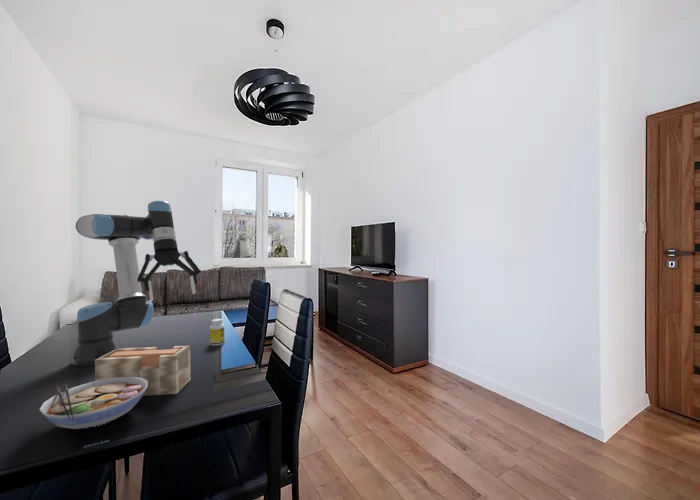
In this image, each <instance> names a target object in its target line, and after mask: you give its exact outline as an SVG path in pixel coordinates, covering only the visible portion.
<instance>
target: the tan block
mask: <svg viewBox="0 0 700 500" xmlns="http://www.w3.org/2000/svg"><path fill="white" fill-rule="evenodd" d="M179 350H180V349H173V348H169V349H167V348H166V349H157V350H143V351H121V352H115V353H113V354H112V355H110V356H109V358H113V357H135V356H142V367H143V366H159V357H160V356H161V355H173V354H175V353H176V352H177V351H179Z"/></svg>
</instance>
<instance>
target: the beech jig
mask: <svg viewBox="0 0 700 500" xmlns="http://www.w3.org/2000/svg"><path fill="white" fill-rule="evenodd" d="M172 349H180V350H179V351H177V352H176V353H175V354H173V355H161V356H160V357H159V366H143V367H142V356H135V357H113V358H109V356H110V355H112V354H113V353H115V352H121V351H143V350H158V346H151V347H150V346H149V347H145V346H144V347H124V348H123V347H122V348H117V349H116V350H114V351H112V352H110V353H108V354H106V355H104V356H102V357H100V358H98V359H96V360H95V365H94V375H95V376H94V379H95V380H94V381H99V380H104V379H109V378H118V377H139V378H142V379H145V380H147V381H148V387H147V389H146V391H145V393H144V394H143V396H142V397H145V396H160V395H162V396H163V395H165V396H166V395H177V394H178V393H179V392H180V391H181V390H182V389H183V388H184V387H185V386H186V385H187V384H188V383H189V382H190V381H191V376H192V374H191V346H190V345H174V346H173V347H172Z"/></svg>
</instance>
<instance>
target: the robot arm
mask: <svg viewBox="0 0 700 500" xmlns="http://www.w3.org/2000/svg"><path fill="white" fill-rule="evenodd" d="M147 212H148V214H147V215H146V216H145V217H144V216H133V215H127V214H124V215H123V214H122V215H120V214H118V215H117V214H105V213H103V214H102V213H99V214H98V213H94V214H93V213H92V214H86V215H83V216H81V217H79V218H78V219H77V221H76V222H75V229H76V231H77V233H79V235H81V236H83V237H84V238H87V239H93V240H100V241H102V240H104V241H105V240H107V241H108V245H109V246H110V247H112V249H113V255H114V264H115V270H116V271H115V273H116V280H117V287H118V288H117V289H118V296H119V297H118V298H117V299H116V300H115V304H113V302H112V301H105V302H98V303H93V304H89V305H85V306H83V307H81V308H80V309H78V310H77V312H76V313H77V314H76V323H77V326H76V327H77V345H76V349H75V351H74V354H73V357H72V366H74V365H75V366H74V367H91V366H95V360H96V359H98V358H100V357H102V356H104V355H106V354H108V353H110V352H112V351H114V350H116V349H118V346H117V345H116V342H115V340H114V333H116V332H121V331H125V330H132V329H139V328H142V327H147V326H148V325H149V324H151V322H152V320H153V316H154V303H153V301H154V293H153V285H152V281H151V280H150V279H151V278H152V277H153V275H154V274H155V273H156V272H157V270H158V269H159V268H160V267H161V266H162V267H167V266H173V265H175V266H176V267H179V268H180V269H182V270H183V271H184V272H186V274H188V275H189V276H190V277H189V283H190V288H191V293H192V295H195V294H196V293H197V290H196V285H197V283H198V280H197V276H198V275H199V274H201V272H202V271H201V269H200V268H199V267H198V265H197V264H196V263H195V262H194V261H193V259H192V258H191V257H190V254H189V251H187V250H185V251H182V252H179V249H178V242H177V240H176V239H177V237H176V231H175V226H174V219H173V211H172V208H171V204H170V203H169V202H168V201H165V200H154V201H153V200H152V201H151V202H149V203H148V204H147ZM141 239H144V240H146V241H151V240H152V241H153V243H152V244H153V250H154V254H149V253H146V254H145V256H144V257H145V258H144V262H143V265H142V268H141V270H140V269H139V261H138V254H137V248H136V247H137V246H136V245H137V244H139V241H140V240H141ZM180 257H181V258H183V259H184V260H185V262H186V263H187V265H186V264H185V263H184V262H183V261H182V260H181V259H180ZM152 260H155V261H156V263H155V265H154V266H153V267H152V269H151V270H150V271H149V272H148V273H147V275H146V276H145V277H144V275H145V272H146V270H147V269H148V266H149V264H150V262H152ZM188 265H189V266H190V267H189V266H188ZM142 283H143V286H144V291H145V292H148V294H149V295H148V296H149V299H147V295H146V294H143V290H142V285H141V284H142Z"/></svg>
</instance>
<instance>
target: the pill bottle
mask: <svg viewBox="0 0 700 500" xmlns="http://www.w3.org/2000/svg"><path fill="white" fill-rule="evenodd" d="M225 342H226V341H225V325H224V324H223V319H221V318H214V319H211V325H210V326H209V344H210V345H211V346H222V345H223V344H225Z"/></svg>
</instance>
